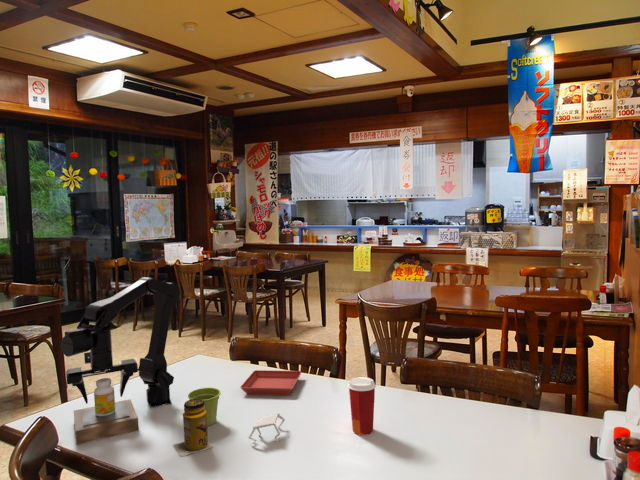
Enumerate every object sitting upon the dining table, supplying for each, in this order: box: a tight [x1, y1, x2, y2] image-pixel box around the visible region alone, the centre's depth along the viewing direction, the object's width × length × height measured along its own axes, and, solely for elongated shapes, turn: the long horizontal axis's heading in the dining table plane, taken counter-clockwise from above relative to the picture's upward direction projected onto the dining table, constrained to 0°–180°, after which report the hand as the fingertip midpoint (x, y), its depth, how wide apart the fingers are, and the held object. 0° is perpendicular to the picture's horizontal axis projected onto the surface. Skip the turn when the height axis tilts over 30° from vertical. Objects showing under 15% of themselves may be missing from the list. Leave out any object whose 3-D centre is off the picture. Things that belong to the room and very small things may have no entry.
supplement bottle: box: [93, 377, 116, 416], centre depth 143 cm, size 5×5×10 cm
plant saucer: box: [240, 369, 302, 396], centre depth 172 cm, size 18×18×3 cm
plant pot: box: [187, 387, 222, 426], centre depth 144 cm, size 9×9×9 cm
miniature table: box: [248, 413, 286, 444], centre depth 134 cm, size 12×8×5 cm
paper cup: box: [346, 376, 377, 436], centre depth 135 cm, size 8×8×14 cm
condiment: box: [172, 399, 214, 457], centre depth 129 cm, size 7×8×12 cm
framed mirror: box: [73, 399, 140, 446], centre depth 143 cm, size 16×16×4 cm
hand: (104, 399), depth 143 cm, fingers open, 9 cm apart
